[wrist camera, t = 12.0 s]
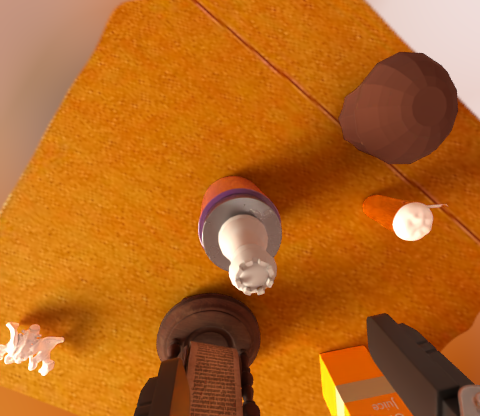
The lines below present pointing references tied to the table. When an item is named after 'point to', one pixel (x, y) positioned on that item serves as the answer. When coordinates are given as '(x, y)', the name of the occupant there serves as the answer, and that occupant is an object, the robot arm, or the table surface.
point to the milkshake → (400, 216)
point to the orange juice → (357, 385)
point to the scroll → (213, 352)
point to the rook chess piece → (247, 254)
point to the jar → (227, 188)
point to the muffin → (401, 109)
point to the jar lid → (234, 207)
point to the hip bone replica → (29, 347)
